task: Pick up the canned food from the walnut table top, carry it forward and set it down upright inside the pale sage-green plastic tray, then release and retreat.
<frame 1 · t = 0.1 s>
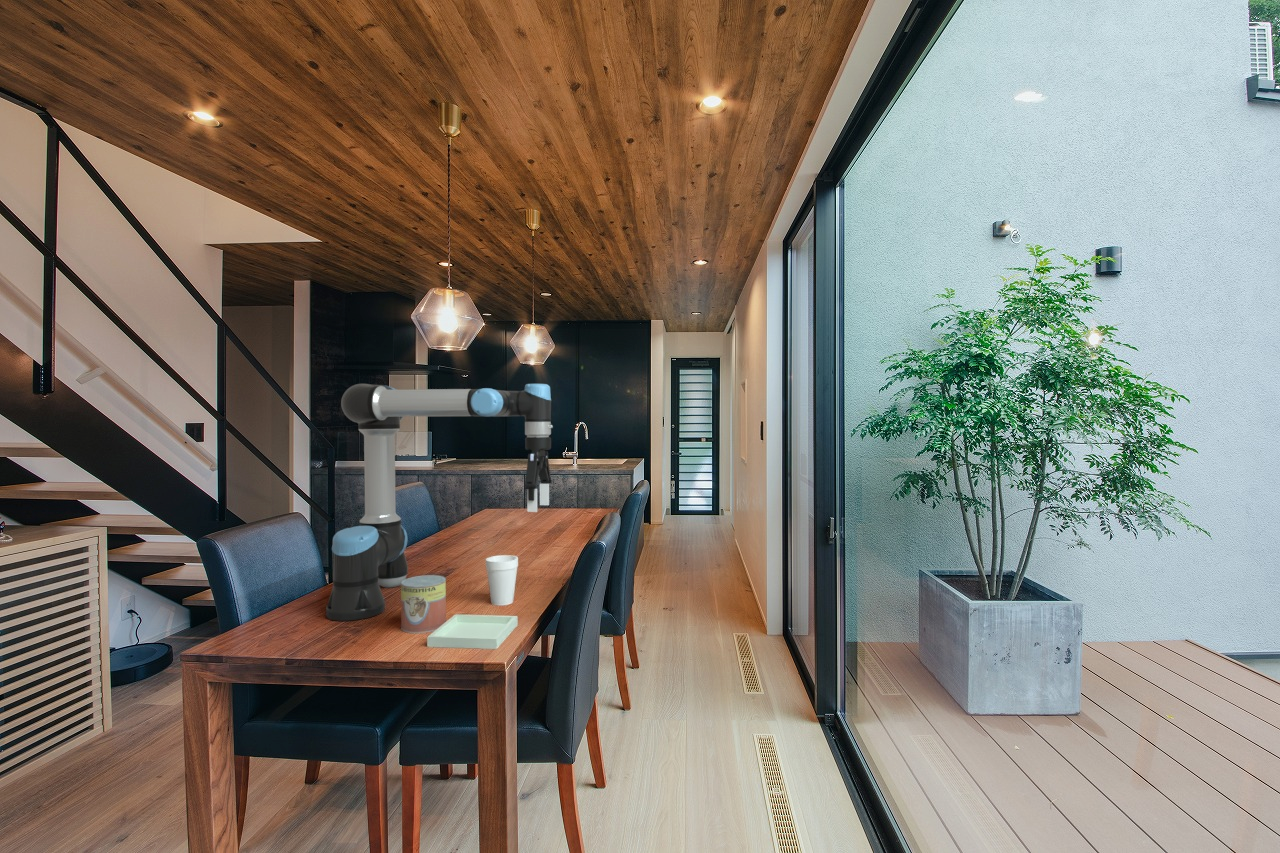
hand: (538, 508, 182), 28 cm above the table, fingers open, 13 cm apart
foam cup: (502, 602, 183), on the table
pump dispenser: (391, 586, 202), on the table
canned food: (424, 626, 163), on the table
tray: (474, 635, 155), on the table
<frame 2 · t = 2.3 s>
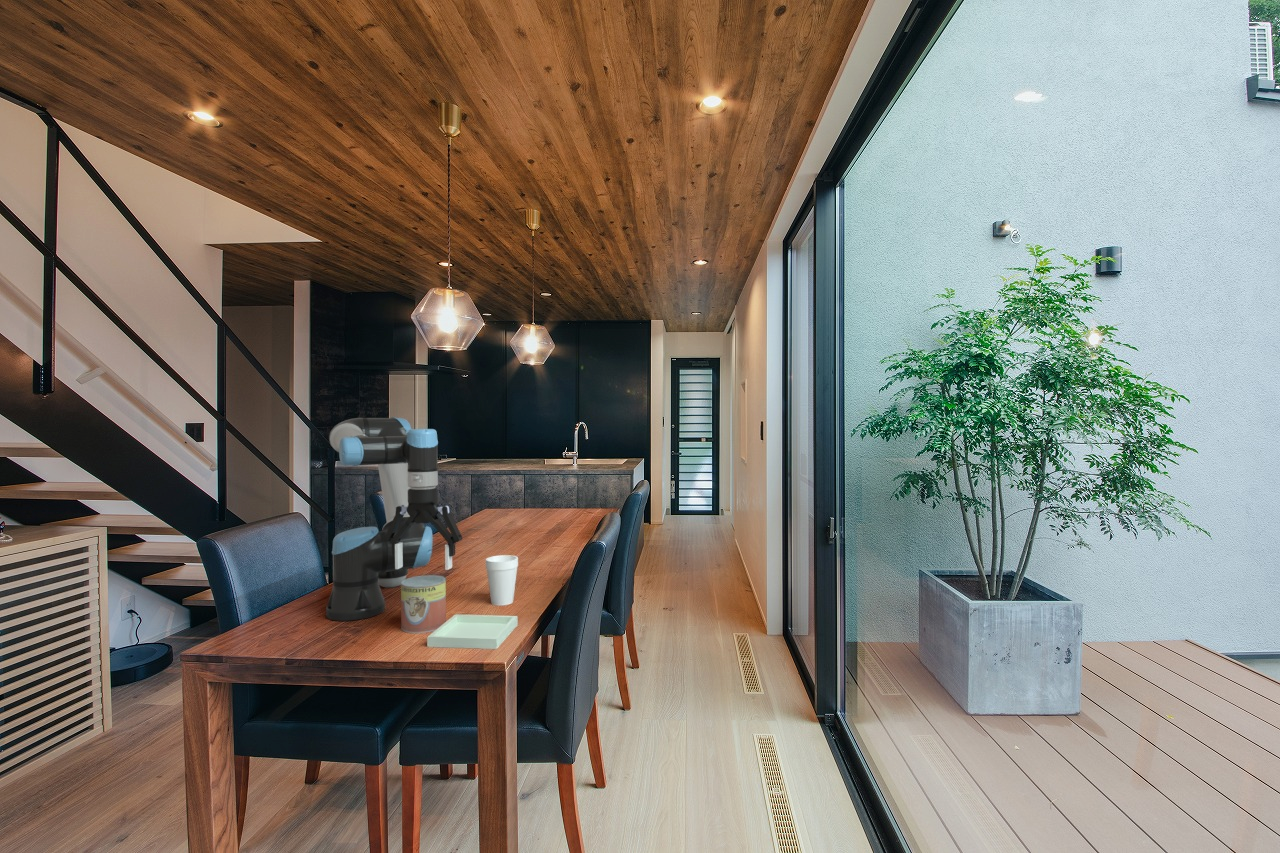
hand: (423, 568, 162), 15 cm above the table, fingers open, 13 cm apart
nothing on the table moved.
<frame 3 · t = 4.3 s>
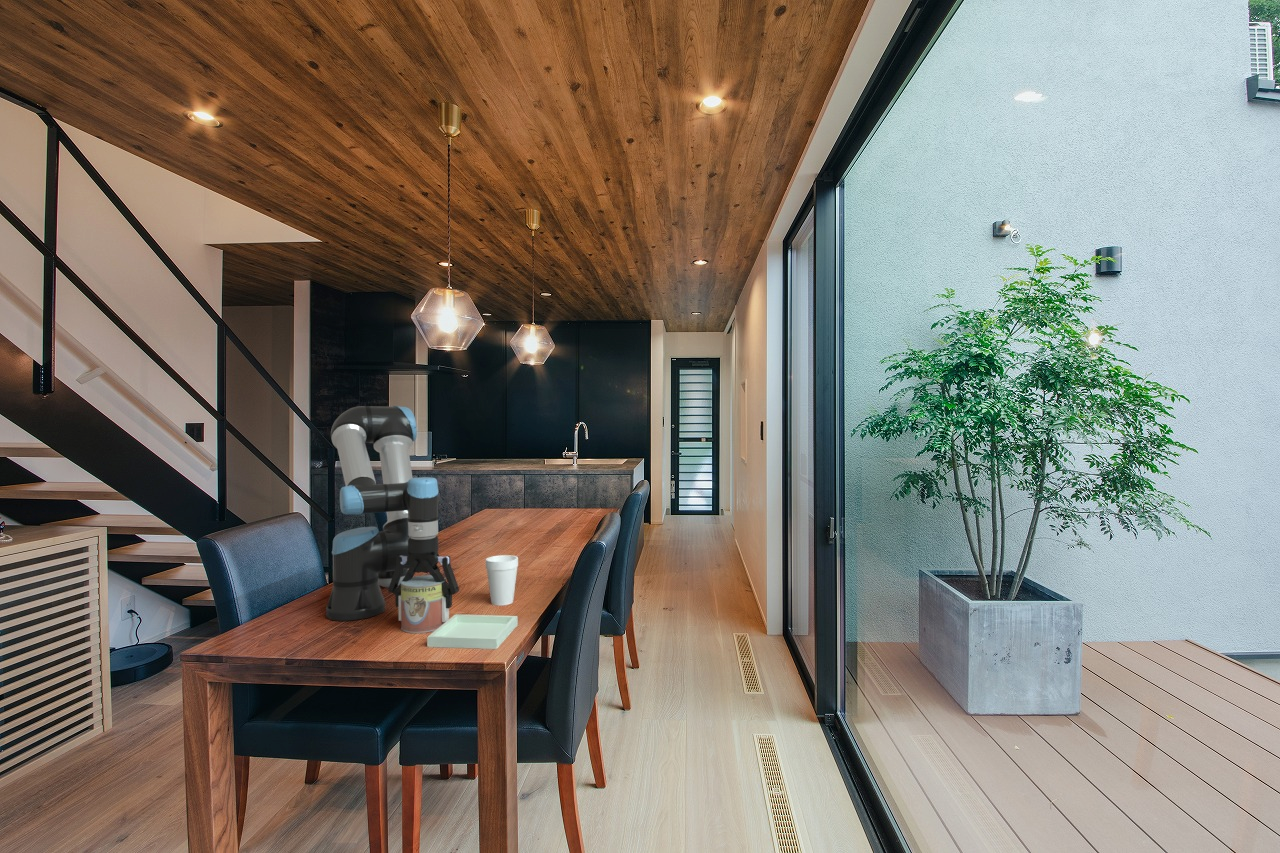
hand: (423, 619, 163), 2 cm above the table, fingers closed on canned food, 11 cm apart
canned food: (423, 626, 163), on the table, touching gripper
everything else where it was.
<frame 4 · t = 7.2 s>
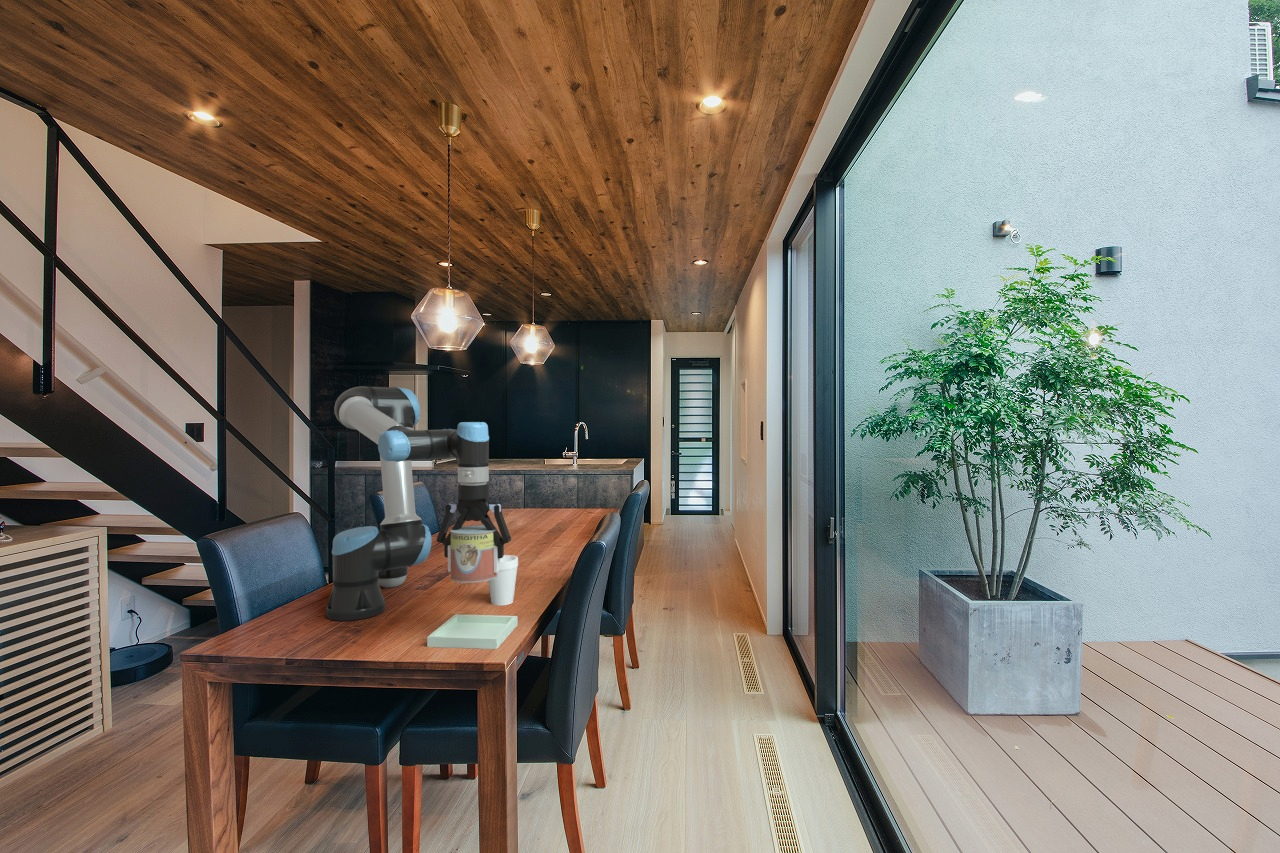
hand: (474, 570, 155), 16 cm above the table, fingers closed on canned food, 11 cm apart
canned food: (474, 577, 155), point 15 cm above the table, touching gripper
everything else where it was.
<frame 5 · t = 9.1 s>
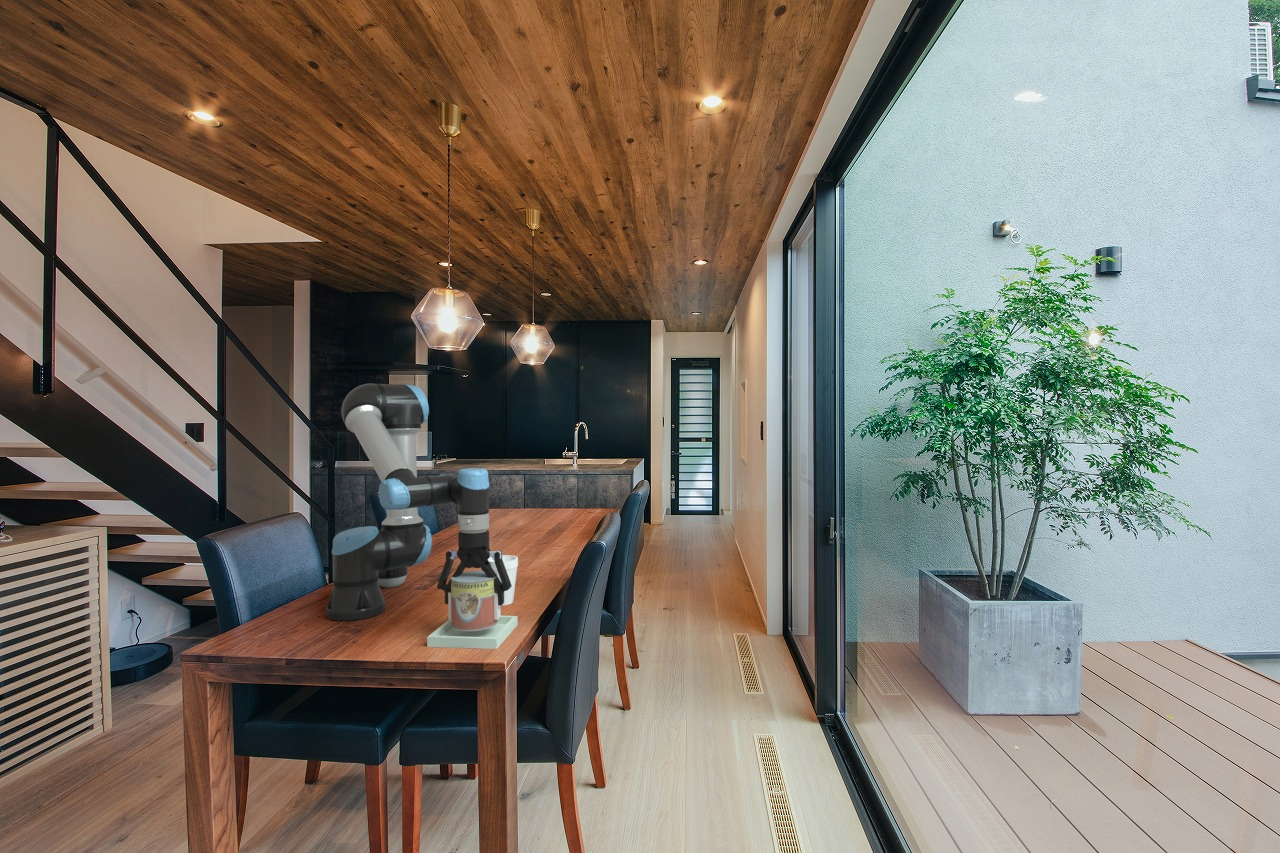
hand: (474, 617, 155), 5 cm above the table, fingers closed on canned food, 11 cm apart
canned food: (474, 624, 155), point 3 cm above the table, touching gripper
everything else where it was.
when the fingers open (3 cm above the table, at t = 10.4 s): canned food drops 1 cm, resting on tray.
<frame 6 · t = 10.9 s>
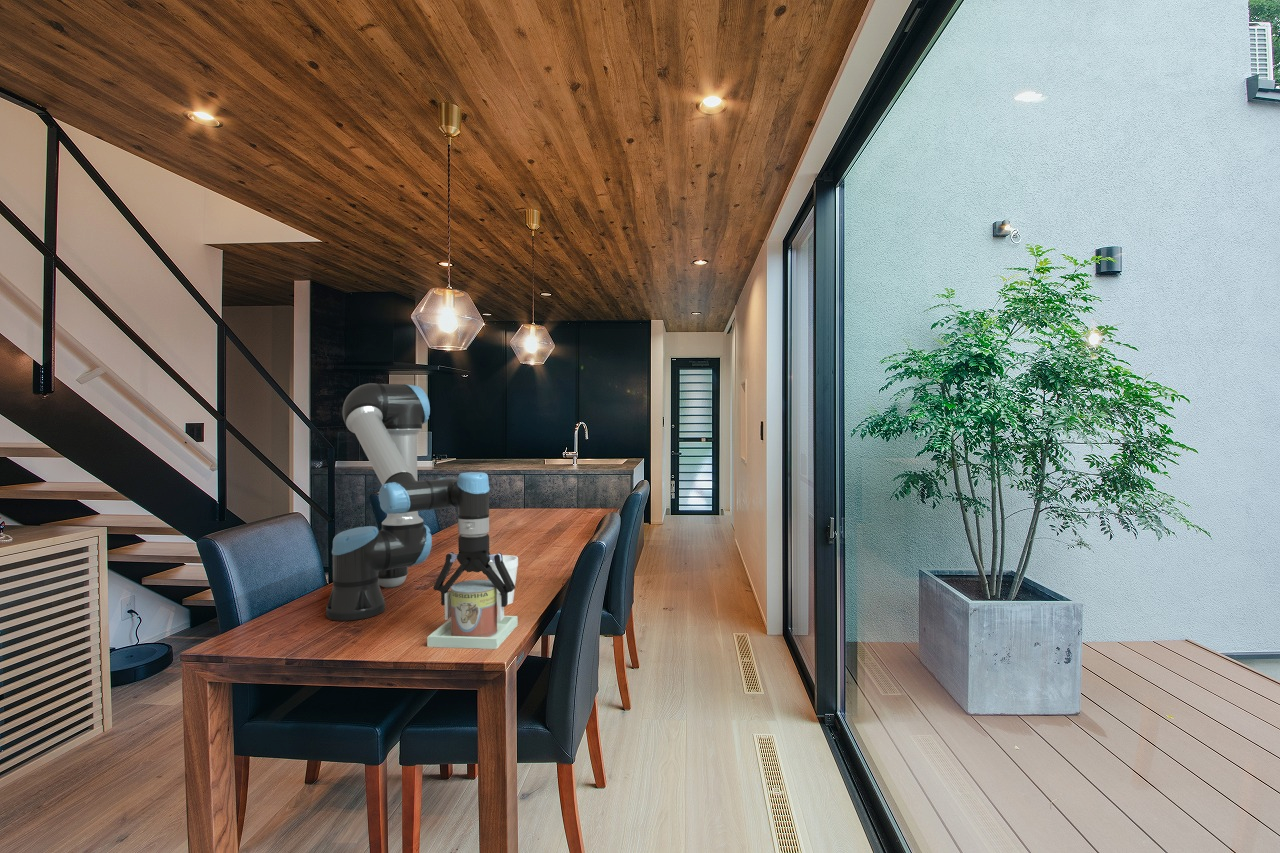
hand: (474, 618, 155), 4 cm above the table, fingers open, 13 cm apart
canned food: (474, 633, 155), resting on tray
everything else where it was.
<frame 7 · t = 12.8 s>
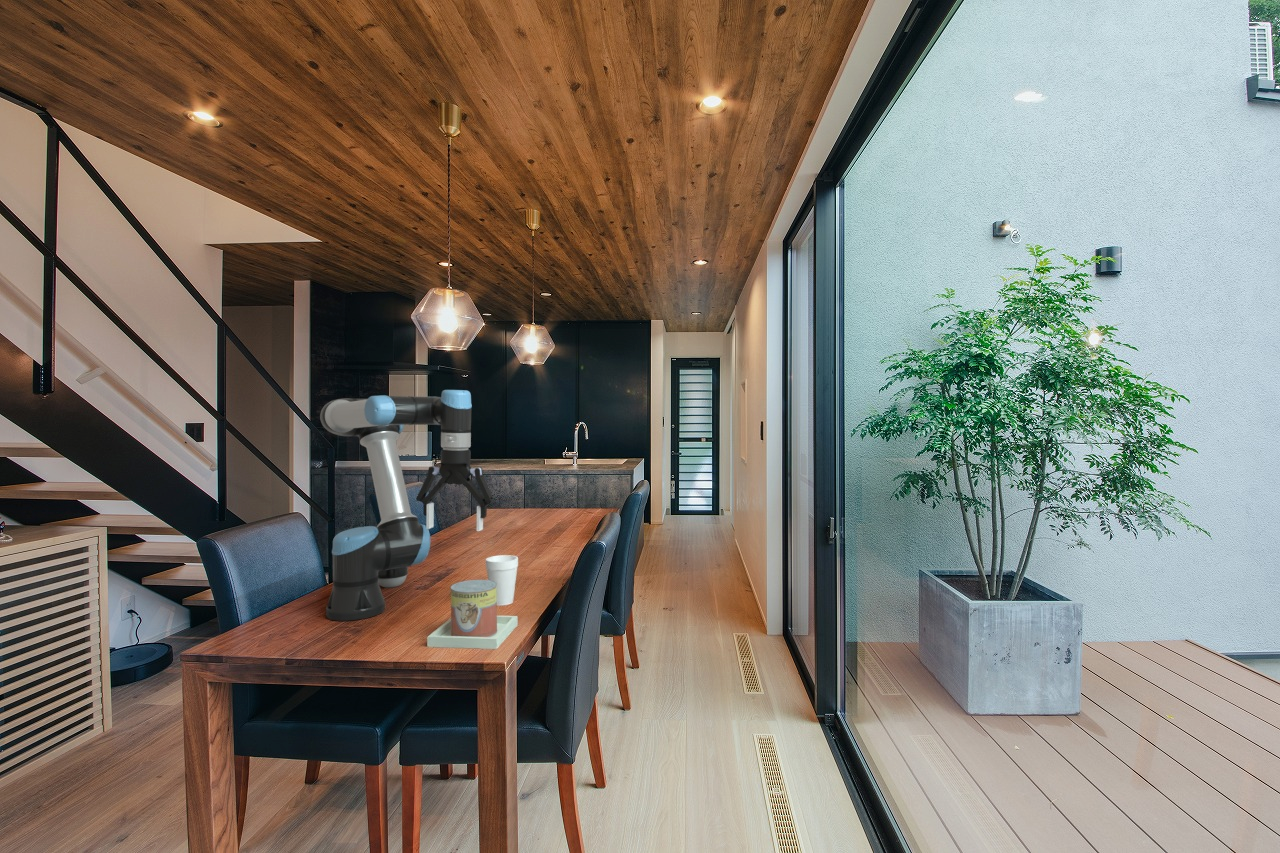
hand: (454, 529, 163), 25 cm above the table, fingers open, 13 cm apart
nothing on the table moved.
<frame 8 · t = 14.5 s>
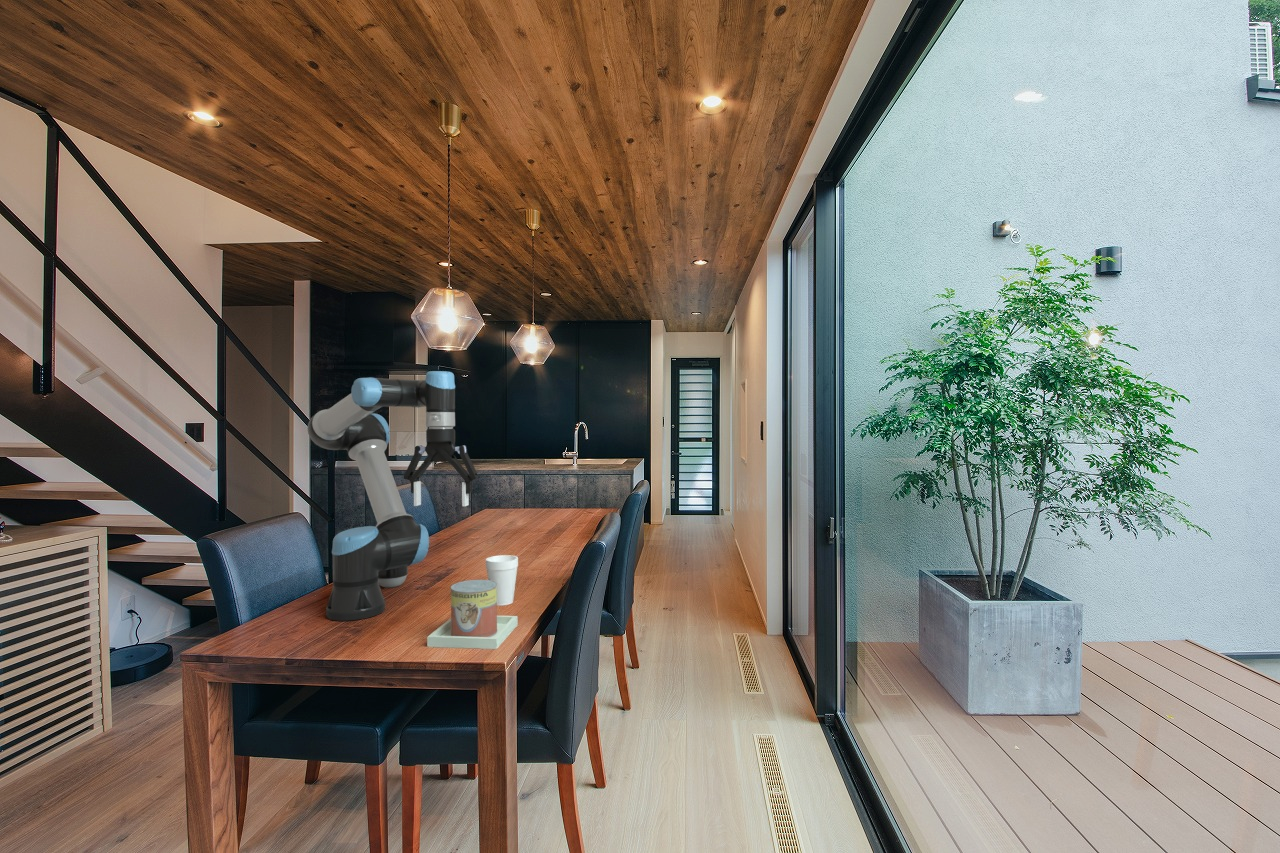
hand: (441, 505, 169), 31 cm above the table, fingers open, 13 cm apart
nothing on the table moved.
at the end: canned food inside the target area on the tray (0.1 cm from its centre), point 0.4 cm above the tray's base; canned food tilted 0°; the gripper is holding nothing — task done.
